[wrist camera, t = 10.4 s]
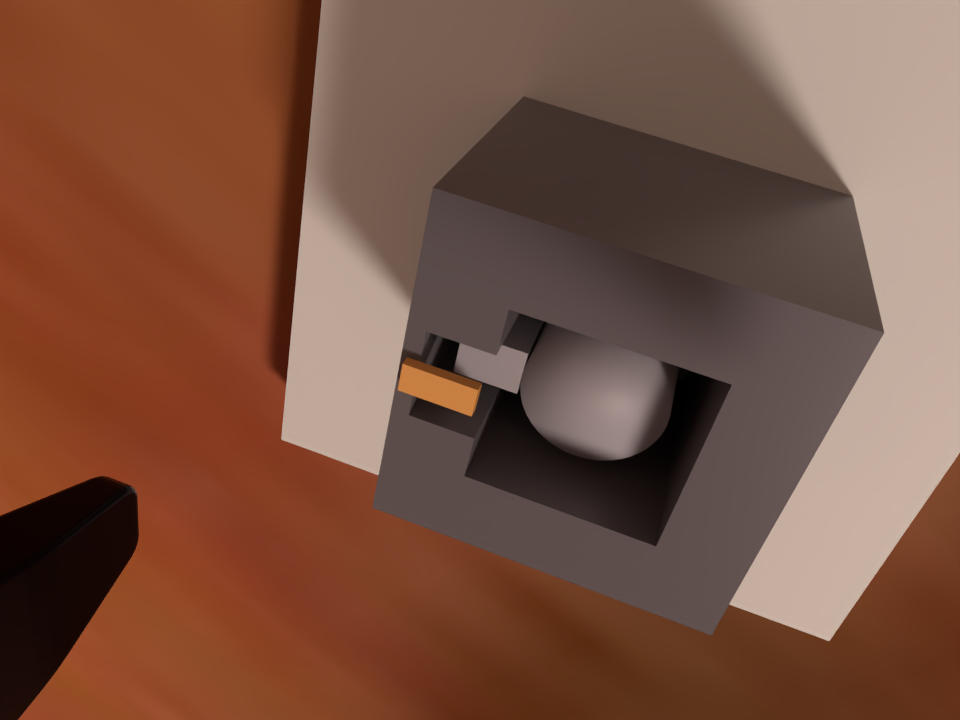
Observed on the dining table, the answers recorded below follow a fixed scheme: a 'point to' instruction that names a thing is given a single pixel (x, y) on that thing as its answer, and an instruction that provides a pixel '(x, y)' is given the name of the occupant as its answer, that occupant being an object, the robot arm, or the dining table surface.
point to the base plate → (682, 119)
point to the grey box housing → (633, 326)
